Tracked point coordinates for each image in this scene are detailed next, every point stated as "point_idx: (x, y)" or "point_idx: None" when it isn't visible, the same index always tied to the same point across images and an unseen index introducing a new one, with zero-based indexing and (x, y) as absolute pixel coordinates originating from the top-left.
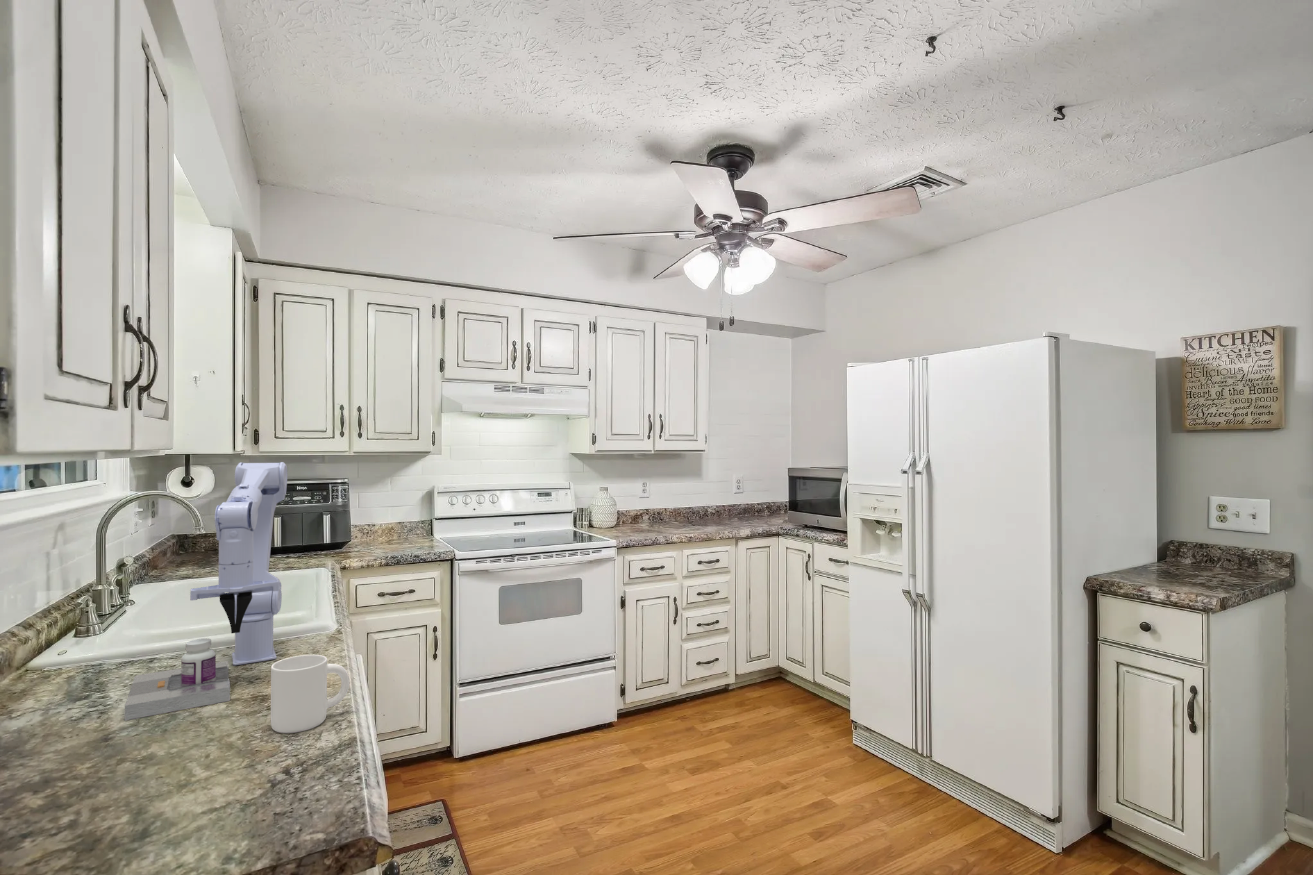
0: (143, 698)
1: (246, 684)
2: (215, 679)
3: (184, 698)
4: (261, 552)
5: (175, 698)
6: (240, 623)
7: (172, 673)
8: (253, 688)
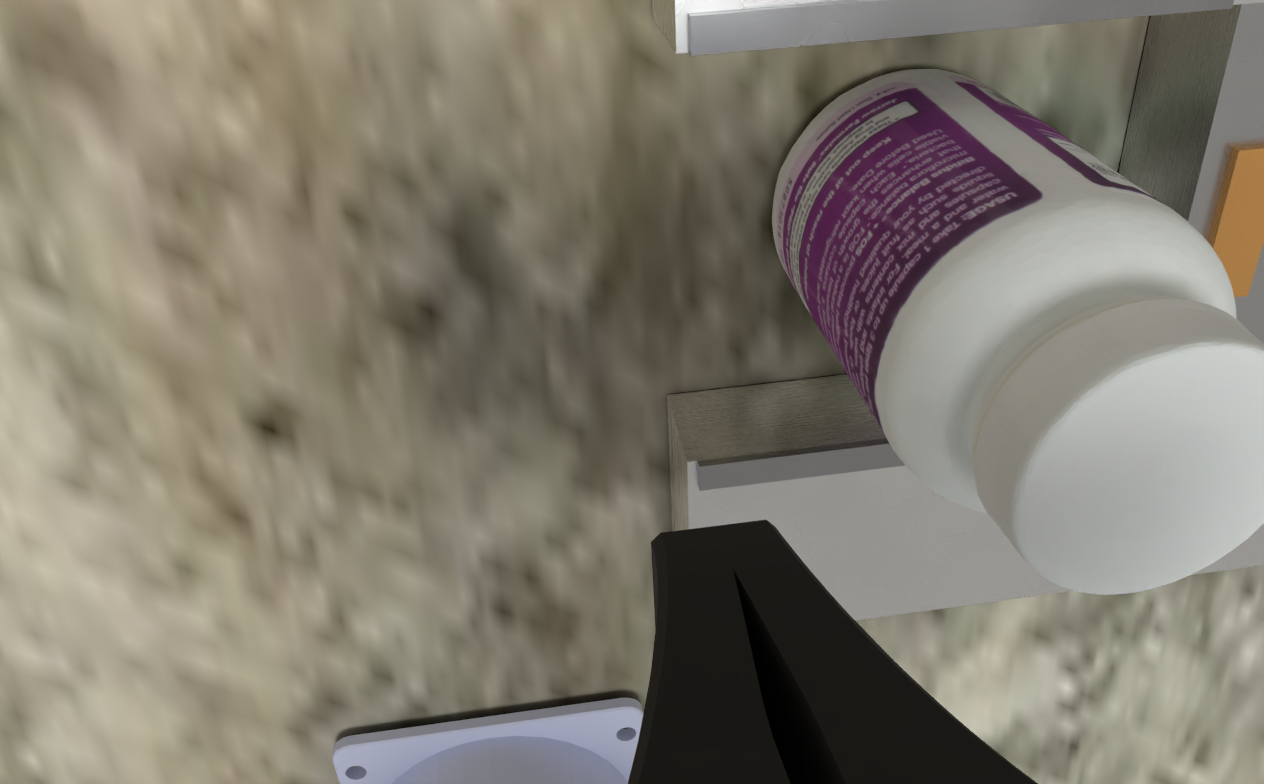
0: None
1: (509, 196)
2: (793, 224)
3: None
4: None
5: None
6: (671, 624)
7: None
8: (429, 22)
